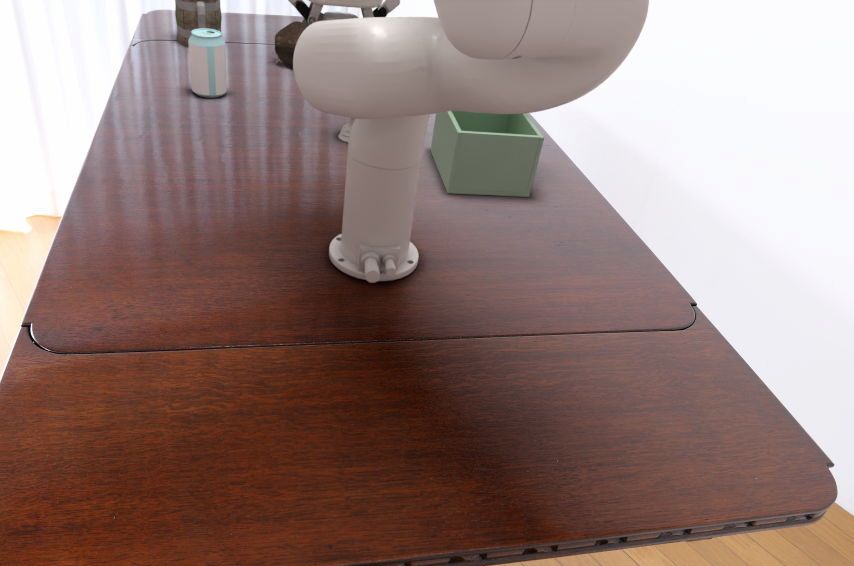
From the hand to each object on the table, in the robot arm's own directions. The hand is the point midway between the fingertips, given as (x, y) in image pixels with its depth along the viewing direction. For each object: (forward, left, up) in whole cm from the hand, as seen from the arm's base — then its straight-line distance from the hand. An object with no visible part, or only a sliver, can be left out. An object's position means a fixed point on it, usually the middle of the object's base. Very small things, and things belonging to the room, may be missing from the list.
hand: (338, 54), depth 92 cm
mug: (+81, +27, -24) cm, 88 cm away
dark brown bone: (+80, +2, -24) cm, 83 cm away
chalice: (+29, -6, -24) cm, 38 cm away
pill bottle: (0, 0, -5) cm, 5 cm away
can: (+48, +22, -24) cm, 58 cm away
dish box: (+16, -28, -23) cm, 39 cm away
